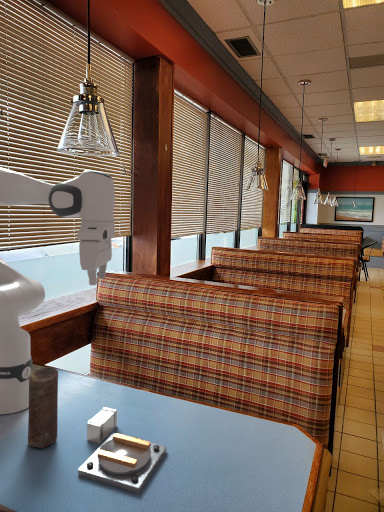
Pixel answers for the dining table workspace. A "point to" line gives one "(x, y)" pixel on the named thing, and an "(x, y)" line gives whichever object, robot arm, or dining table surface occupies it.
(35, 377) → the candle
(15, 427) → the dining table surface
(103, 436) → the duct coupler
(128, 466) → the turntable fixture plate
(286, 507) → the dining table surface
